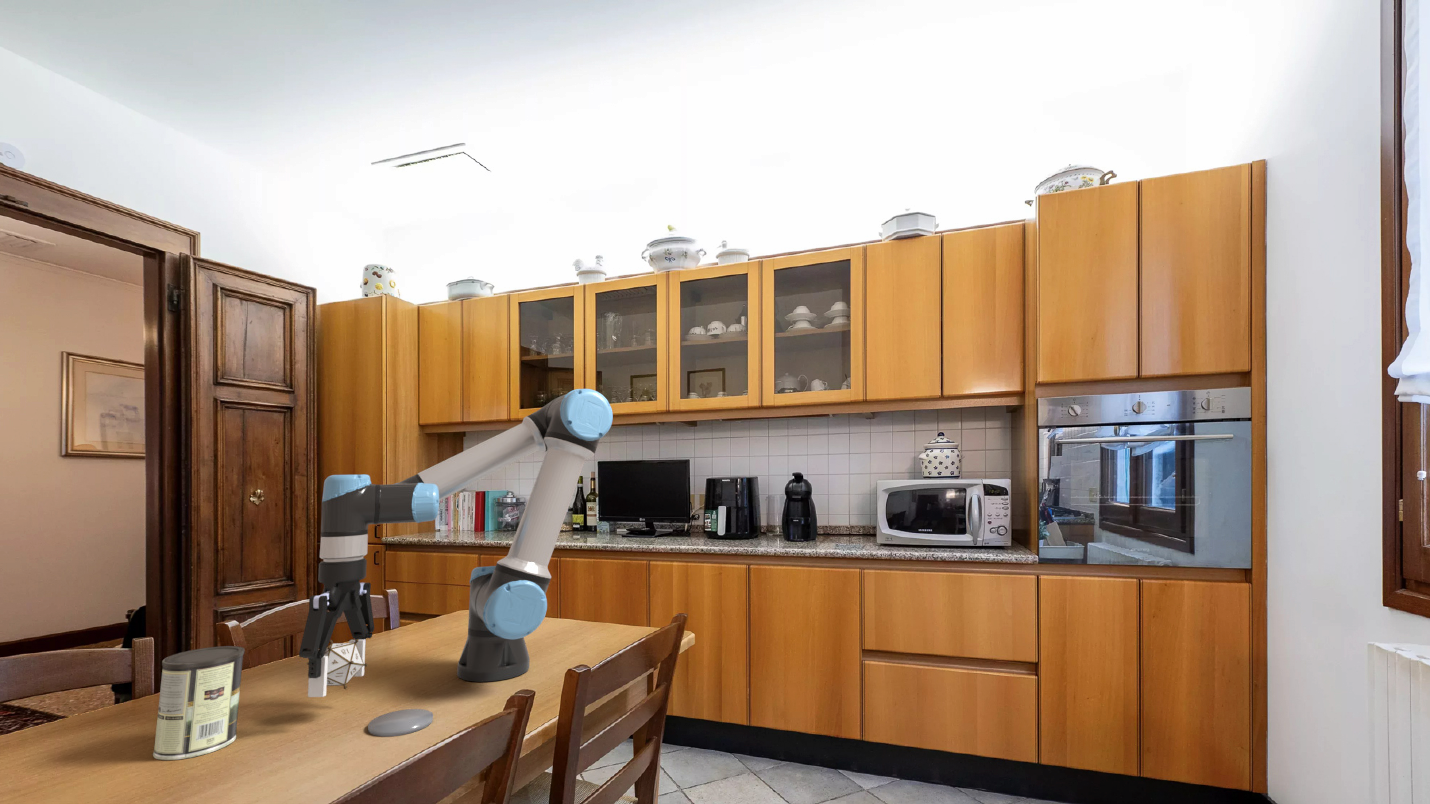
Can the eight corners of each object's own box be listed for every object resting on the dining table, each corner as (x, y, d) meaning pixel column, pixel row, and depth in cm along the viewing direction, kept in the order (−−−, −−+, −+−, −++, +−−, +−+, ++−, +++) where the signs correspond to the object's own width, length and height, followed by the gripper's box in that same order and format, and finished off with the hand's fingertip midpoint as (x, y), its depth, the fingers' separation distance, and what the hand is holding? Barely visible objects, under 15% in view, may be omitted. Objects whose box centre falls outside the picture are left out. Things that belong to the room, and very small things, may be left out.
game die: (333, 712, 107) (312, 676, 102) (312, 687, 111) (290, 651, 106) (383, 675, 113) (365, 639, 108) (360, 652, 118) (342, 617, 112)
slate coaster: (443, 714, 110) (443, 709, 110) (413, 737, 100) (414, 731, 101) (389, 713, 111) (390, 708, 111) (355, 735, 101) (355, 730, 101)
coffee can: (196, 731, 103) (205, 644, 104) (252, 734, 102) (260, 646, 103) (132, 759, 92) (143, 662, 94) (194, 762, 91) (204, 664, 93)
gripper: (361, 551, 123) (356, 665, 121) (277, 568, 101) (268, 709, 98) (397, 550, 123) (393, 665, 120) (321, 567, 101) (313, 709, 98)
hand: (337, 685), depth 109 cm, fingers closed on game die, 10 cm apart
